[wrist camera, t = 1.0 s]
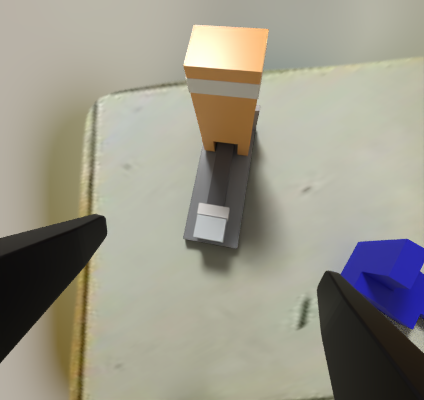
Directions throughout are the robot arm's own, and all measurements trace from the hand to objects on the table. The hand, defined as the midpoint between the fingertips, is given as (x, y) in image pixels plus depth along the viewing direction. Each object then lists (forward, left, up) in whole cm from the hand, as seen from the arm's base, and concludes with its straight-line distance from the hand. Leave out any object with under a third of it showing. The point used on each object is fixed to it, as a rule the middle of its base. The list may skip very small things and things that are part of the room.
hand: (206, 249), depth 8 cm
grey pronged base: (+7, +5, -13) cm, 16 cm away
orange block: (+10, +6, -12) cm, 17 cm away
